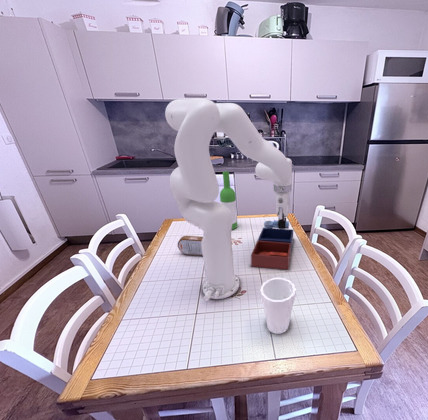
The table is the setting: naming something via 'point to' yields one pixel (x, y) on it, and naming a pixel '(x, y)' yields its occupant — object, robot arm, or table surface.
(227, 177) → the wine bottle
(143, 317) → the table surface
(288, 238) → the blue bin
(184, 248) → the tin
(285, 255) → the red spoon
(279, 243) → the red bin
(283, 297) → the foam cup
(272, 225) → the blue spoon
